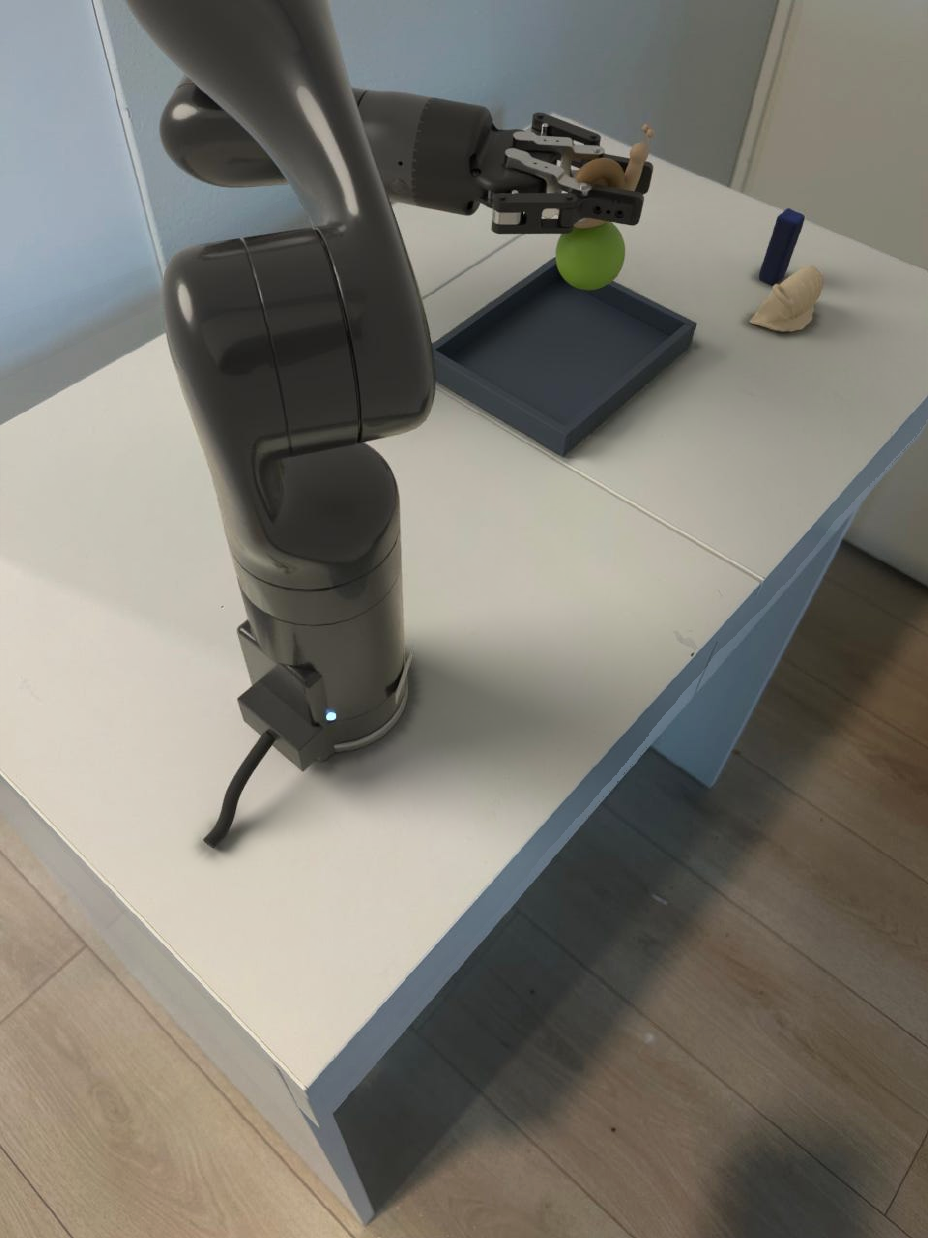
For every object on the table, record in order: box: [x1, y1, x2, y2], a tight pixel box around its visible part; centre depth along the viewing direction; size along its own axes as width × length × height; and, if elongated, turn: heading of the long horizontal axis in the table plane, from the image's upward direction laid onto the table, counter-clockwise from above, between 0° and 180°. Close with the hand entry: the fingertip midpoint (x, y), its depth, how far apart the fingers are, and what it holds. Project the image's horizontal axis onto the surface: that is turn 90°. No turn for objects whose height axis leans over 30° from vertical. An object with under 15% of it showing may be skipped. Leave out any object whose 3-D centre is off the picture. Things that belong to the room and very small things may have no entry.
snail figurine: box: [554, 123, 655, 290], centre depth 71 cm, size 5×6×12 cm
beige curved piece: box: [748, 264, 824, 333], centre depth 87 cm, size 4×8×5 cm, turn 132°
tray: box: [432, 256, 698, 458], centre depth 84 cm, size 20×16×2 cm
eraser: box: [758, 207, 806, 287], centre depth 91 cm, size 2×2×7 cm
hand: (645, 193), depth 69 cm, fingers open, 3 cm apart
